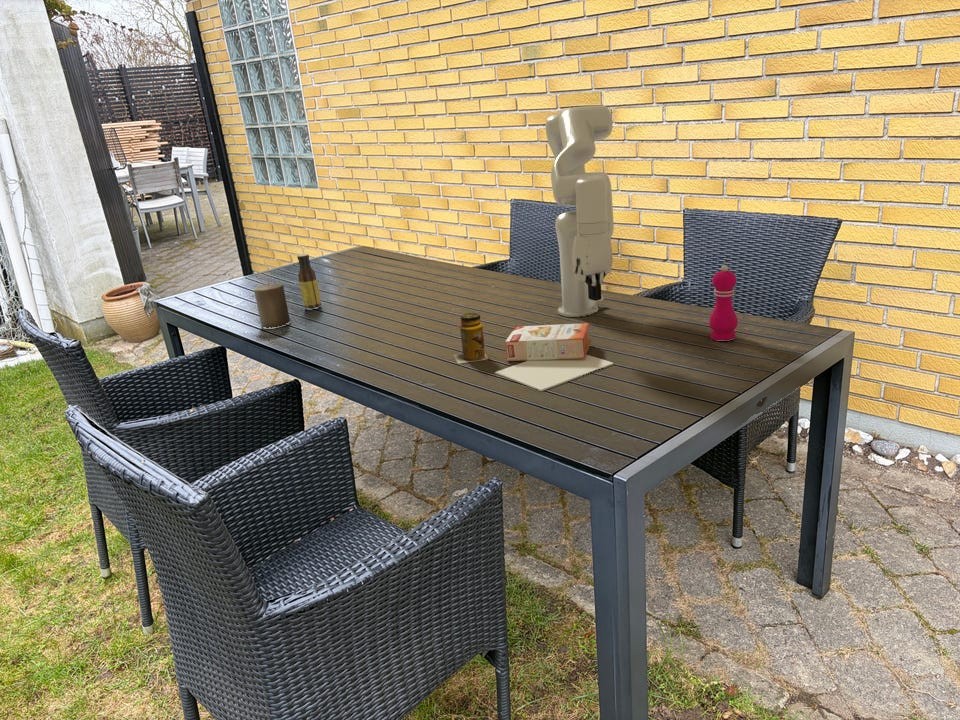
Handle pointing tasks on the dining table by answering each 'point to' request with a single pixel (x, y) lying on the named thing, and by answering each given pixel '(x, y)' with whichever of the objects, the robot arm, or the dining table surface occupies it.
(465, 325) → the condiment
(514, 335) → the cracker box
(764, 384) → the dining table surface
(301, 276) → the sauce bottle
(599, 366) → the mat
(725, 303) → the pepper mill
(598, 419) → the dining table surface
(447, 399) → the dining table surface
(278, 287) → the pillar candle
